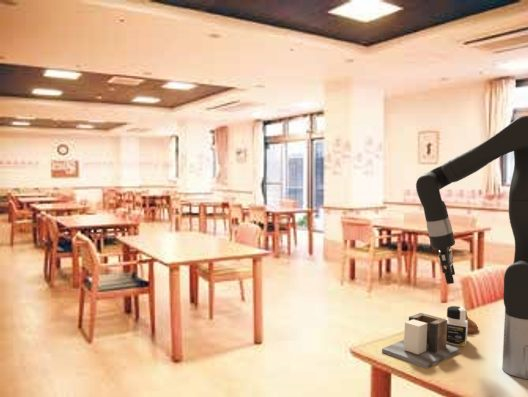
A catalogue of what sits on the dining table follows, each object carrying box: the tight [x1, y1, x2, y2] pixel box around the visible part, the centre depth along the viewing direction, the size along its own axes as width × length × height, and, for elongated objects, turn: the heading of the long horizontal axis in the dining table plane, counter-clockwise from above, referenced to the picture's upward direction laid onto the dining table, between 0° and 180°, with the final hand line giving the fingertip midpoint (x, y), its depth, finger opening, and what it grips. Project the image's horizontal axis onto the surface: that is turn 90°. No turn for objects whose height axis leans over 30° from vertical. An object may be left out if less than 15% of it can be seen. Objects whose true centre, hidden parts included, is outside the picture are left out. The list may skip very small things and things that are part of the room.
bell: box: [466, 311, 479, 335], centre depth 178 cm, size 12×12×7 cm
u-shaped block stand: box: [381, 312, 460, 369], centre depth 154 cm, size 20×16×10 cm
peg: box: [403, 319, 427, 355], centre depth 151 cm, size 5×5×9 cm
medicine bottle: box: [445, 305, 468, 347], centre depth 164 cm, size 7×7×12 cm
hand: (451, 279), depth 156 cm, fingers open, 8 cm apart
